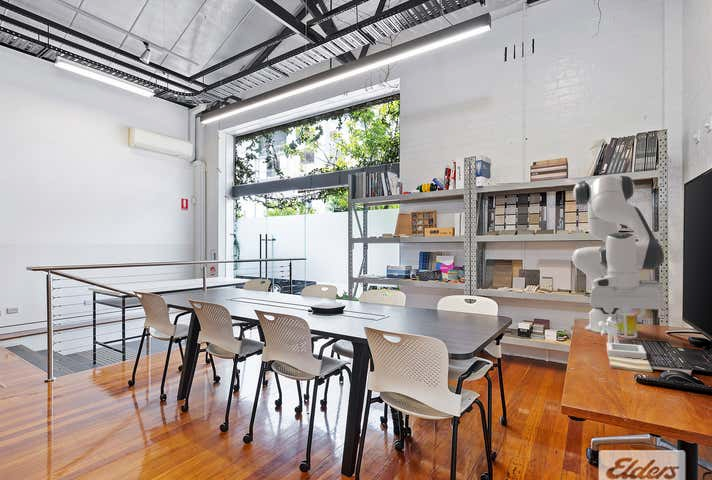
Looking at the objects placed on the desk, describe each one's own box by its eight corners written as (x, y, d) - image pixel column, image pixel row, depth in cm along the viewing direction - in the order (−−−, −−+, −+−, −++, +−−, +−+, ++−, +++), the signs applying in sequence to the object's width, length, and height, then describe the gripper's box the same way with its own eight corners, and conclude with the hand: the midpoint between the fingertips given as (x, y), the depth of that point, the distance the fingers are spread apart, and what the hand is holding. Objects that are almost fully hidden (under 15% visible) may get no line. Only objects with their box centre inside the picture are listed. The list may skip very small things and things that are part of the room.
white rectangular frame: (606, 349, 144) (606, 342, 144) (642, 351, 138) (641, 345, 138) (608, 357, 135) (608, 350, 135) (646, 360, 129) (646, 353, 129)
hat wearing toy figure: (625, 344, 149) (623, 314, 149) (628, 346, 145) (625, 316, 146) (599, 342, 153) (597, 313, 153) (601, 345, 149) (598, 315, 149)
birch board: (608, 358, 133) (608, 356, 133) (647, 362, 127) (647, 359, 127) (610, 368, 123) (610, 365, 123) (652, 372, 118) (652, 369, 118)
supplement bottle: (639, 336, 125) (637, 305, 125) (634, 339, 121) (633, 308, 122) (620, 333, 129) (618, 304, 129) (614, 336, 126) (613, 306, 126)
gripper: (660, 279, 123) (664, 321, 123) (588, 279, 134) (591, 318, 133) (664, 281, 118) (667, 325, 117) (588, 281, 128) (591, 321, 128)
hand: (626, 321), depth 126 cm, fingers closed on supplement bottle, 6 cm apart
